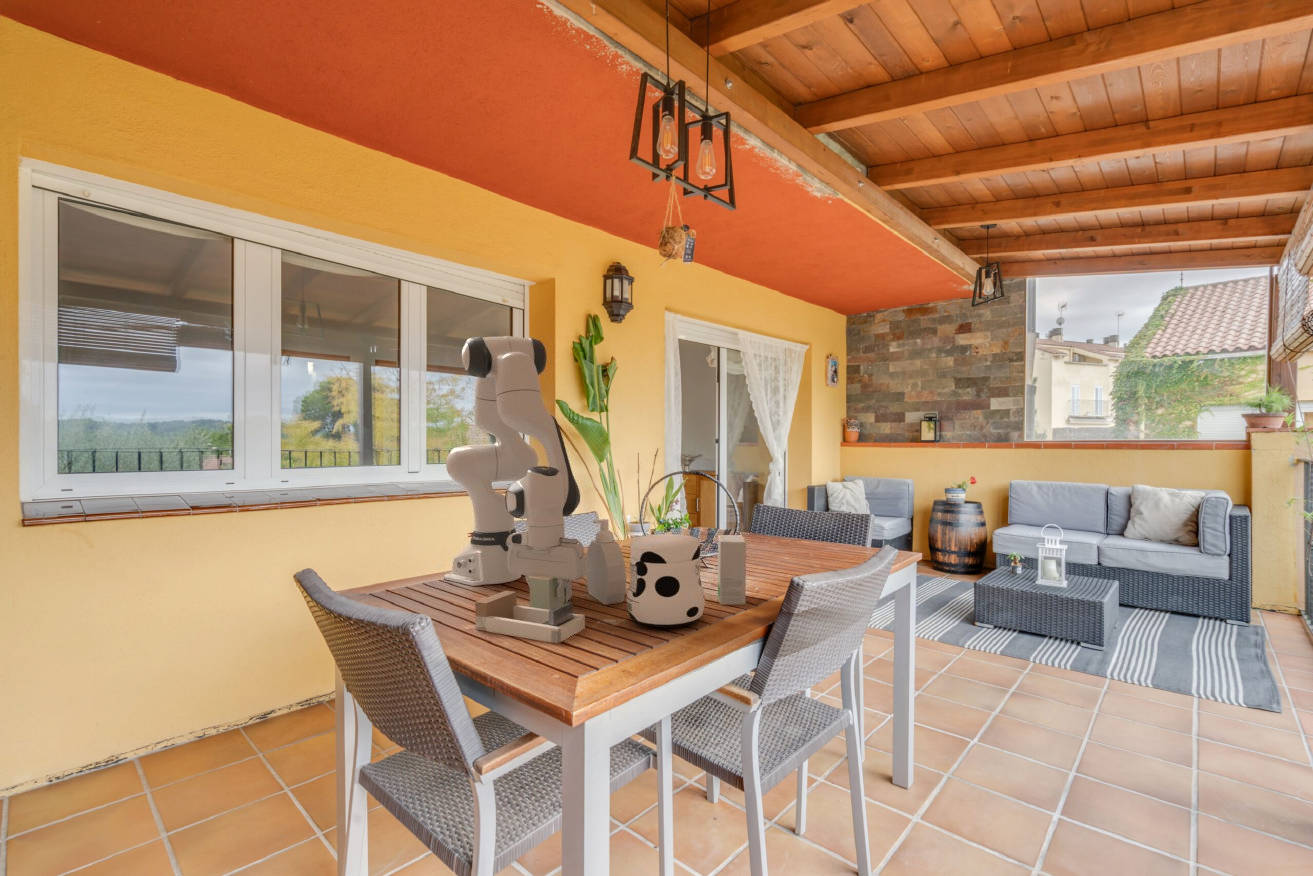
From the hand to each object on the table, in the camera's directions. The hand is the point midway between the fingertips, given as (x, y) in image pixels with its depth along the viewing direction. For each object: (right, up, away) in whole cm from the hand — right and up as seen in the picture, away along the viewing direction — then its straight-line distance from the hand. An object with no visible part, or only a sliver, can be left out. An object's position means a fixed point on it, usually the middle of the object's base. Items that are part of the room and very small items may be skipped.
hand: (546, 595), depth 143 cm
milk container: (+28, -4, -7) cm, 29 cm away
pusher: (+4, -4, -14) cm, 16 cm away
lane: (-2, -4, -11) cm, 12 cm away
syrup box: (+1, -4, +11) cm, 12 cm away
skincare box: (+44, -4, +8) cm, 45 cm away
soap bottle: (+13, -4, +12) cm, 18 cm away
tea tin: (0, -4, 0) cm, 4 cm away
